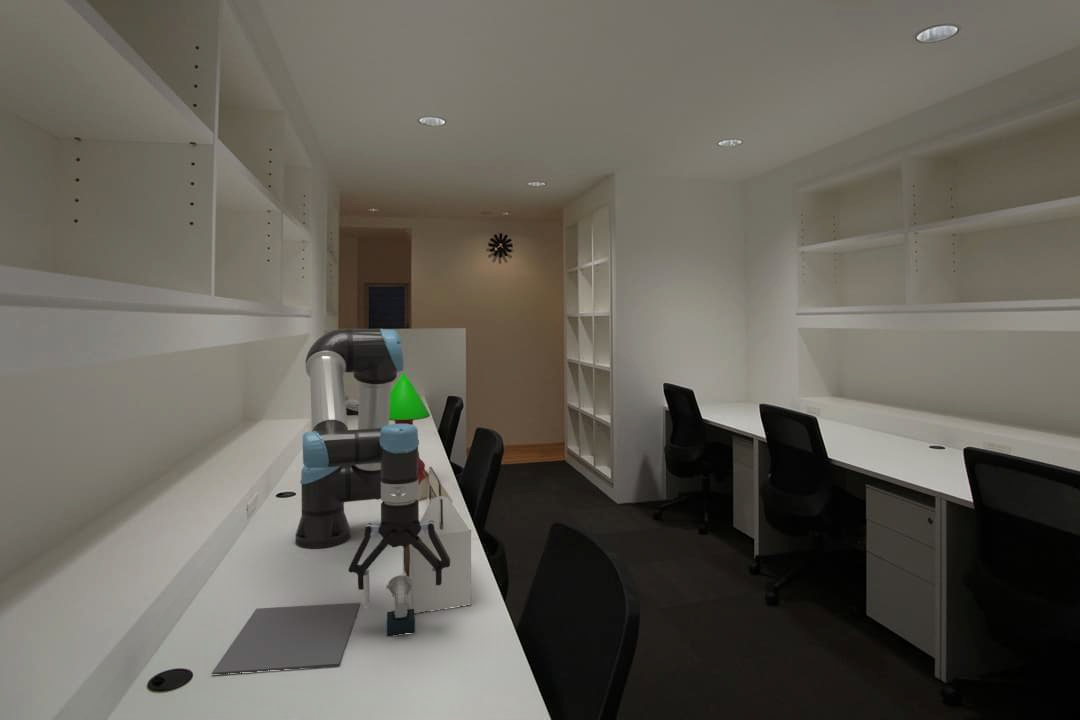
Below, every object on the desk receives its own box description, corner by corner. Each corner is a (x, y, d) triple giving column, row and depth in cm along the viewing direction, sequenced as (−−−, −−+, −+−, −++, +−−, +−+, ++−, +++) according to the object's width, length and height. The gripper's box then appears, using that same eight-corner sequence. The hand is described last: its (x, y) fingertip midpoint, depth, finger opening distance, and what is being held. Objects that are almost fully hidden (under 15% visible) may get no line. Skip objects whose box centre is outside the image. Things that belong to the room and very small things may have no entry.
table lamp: (373, 485, 230) (372, 370, 227) (423, 479, 238) (423, 369, 235) (382, 498, 212) (381, 375, 209) (436, 492, 220) (436, 373, 217)
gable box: (402, 573, 148) (401, 465, 147) (454, 567, 153) (454, 461, 151) (411, 615, 127) (410, 488, 126) (471, 606, 131) (471, 484, 130)
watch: (413, 618, 126) (413, 568, 125) (415, 638, 118) (414, 584, 117) (386, 621, 124) (386, 571, 124) (386, 641, 117) (386, 587, 116)
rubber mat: (256, 611, 128) (256, 608, 128) (360, 605, 132) (360, 602, 132) (211, 676, 105) (211, 672, 105) (339, 666, 108) (339, 663, 108)
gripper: (332, 508, 114) (334, 614, 115) (461, 503, 118) (461, 606, 119) (340, 497, 122) (341, 597, 123) (461, 493, 125) (461, 590, 126)
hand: (400, 602), depth 121 cm, fingers open, 13 cm apart
